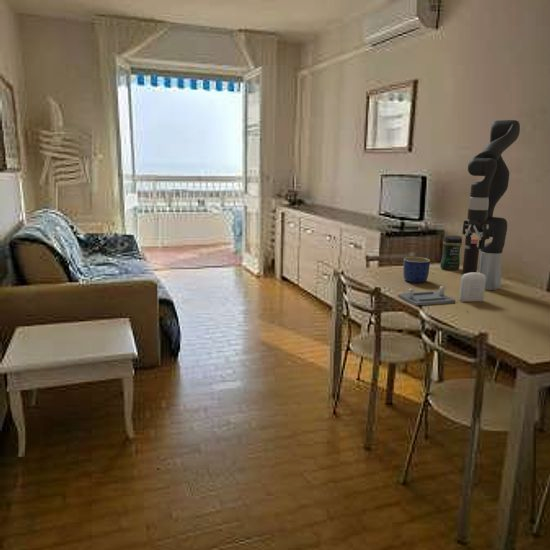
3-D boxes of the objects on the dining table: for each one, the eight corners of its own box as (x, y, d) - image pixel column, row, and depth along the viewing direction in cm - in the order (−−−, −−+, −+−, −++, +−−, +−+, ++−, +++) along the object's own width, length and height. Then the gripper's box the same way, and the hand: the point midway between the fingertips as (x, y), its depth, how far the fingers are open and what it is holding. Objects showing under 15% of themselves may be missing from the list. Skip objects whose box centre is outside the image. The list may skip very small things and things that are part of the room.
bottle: (459, 277, 246) (463, 238, 241) (464, 275, 251) (468, 237, 246) (473, 279, 241) (477, 240, 237) (478, 277, 246) (482, 238, 241)
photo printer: (479, 298, 208) (482, 271, 205) (484, 301, 204) (488, 273, 201) (457, 299, 207) (459, 271, 204) (462, 302, 203) (465, 274, 200)
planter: (433, 283, 233) (435, 261, 231) (410, 284, 231) (411, 262, 228) (419, 277, 245) (421, 256, 243) (397, 278, 242) (399, 257, 240)
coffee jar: (444, 270, 260) (447, 236, 256) (438, 267, 268) (441, 234, 263) (461, 270, 261) (464, 236, 256) (455, 267, 268) (458, 234, 264)
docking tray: (436, 293, 215) (436, 282, 214) (455, 302, 202) (456, 290, 201) (398, 296, 210) (398, 285, 209) (415, 306, 197) (416, 293, 196)
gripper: (497, 209, 191) (493, 249, 195) (474, 206, 204) (471, 243, 208) (481, 210, 189) (477, 250, 193) (459, 206, 202) (455, 244, 206)
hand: (474, 247), depth 200 cm, fingers open, 8 cm apart
